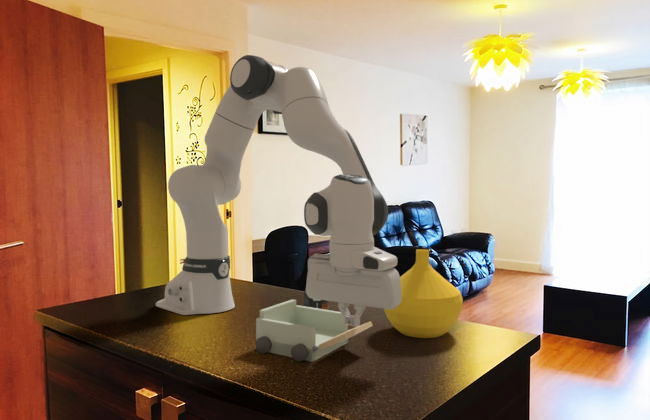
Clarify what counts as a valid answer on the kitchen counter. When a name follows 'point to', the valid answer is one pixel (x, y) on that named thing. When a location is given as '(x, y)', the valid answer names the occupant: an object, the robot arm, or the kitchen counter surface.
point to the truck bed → (298, 330)
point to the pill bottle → (315, 302)
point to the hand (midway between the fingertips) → (351, 325)
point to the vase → (425, 301)
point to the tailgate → (345, 335)
